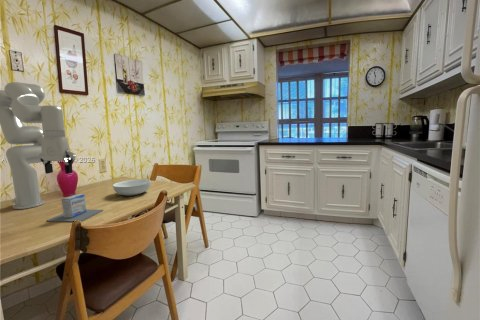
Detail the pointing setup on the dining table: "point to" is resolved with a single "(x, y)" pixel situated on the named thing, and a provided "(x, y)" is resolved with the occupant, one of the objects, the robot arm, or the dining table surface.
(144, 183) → the serving bowl
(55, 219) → the slate mat
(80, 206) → the medicine box
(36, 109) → the robot arm
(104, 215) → the dining table surface
